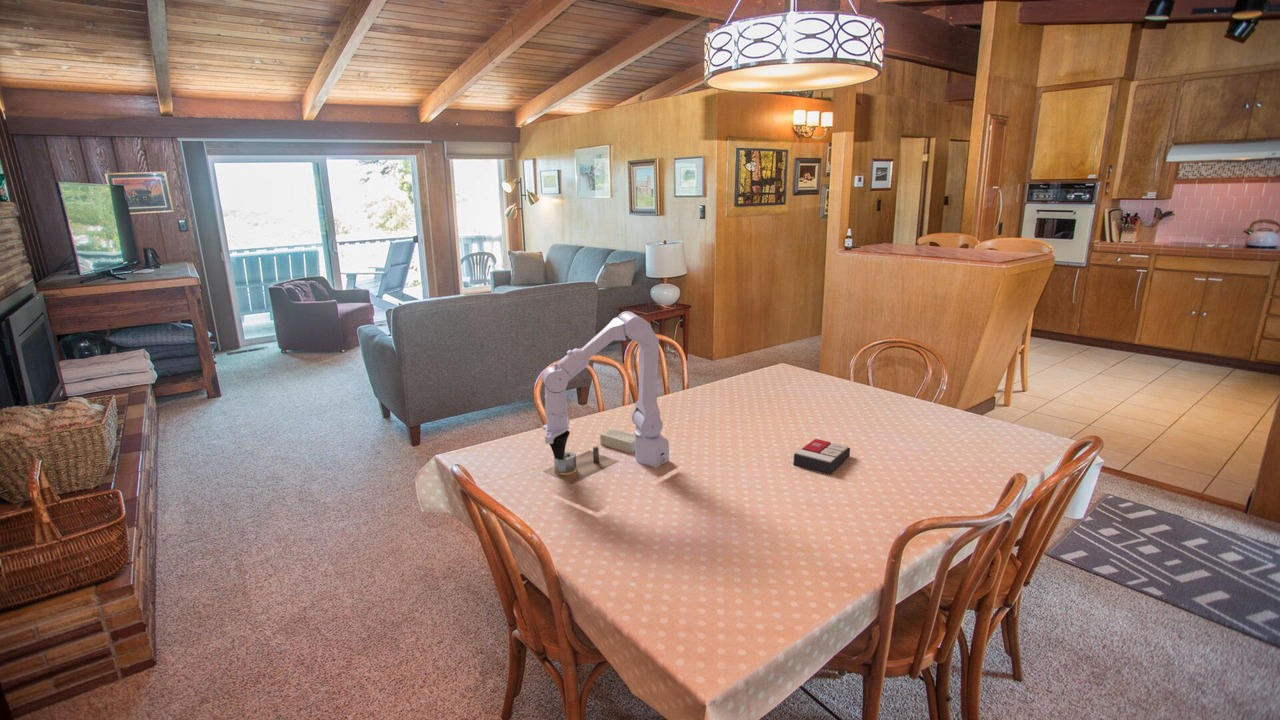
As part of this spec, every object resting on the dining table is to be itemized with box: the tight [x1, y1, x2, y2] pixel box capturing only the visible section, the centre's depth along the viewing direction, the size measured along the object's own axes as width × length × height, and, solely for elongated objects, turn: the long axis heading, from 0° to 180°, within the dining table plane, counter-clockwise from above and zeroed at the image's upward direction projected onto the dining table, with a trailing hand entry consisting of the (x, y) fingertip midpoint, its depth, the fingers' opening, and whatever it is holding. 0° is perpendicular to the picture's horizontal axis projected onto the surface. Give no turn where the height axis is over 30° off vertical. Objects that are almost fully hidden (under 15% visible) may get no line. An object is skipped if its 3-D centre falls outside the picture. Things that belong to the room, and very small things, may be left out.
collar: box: [553, 450, 577, 473], centre depth 173 cm, size 6×6×4 cm
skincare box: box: [599, 428, 635, 454], centre depth 189 cm, size 6×4×12 cm
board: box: [542, 446, 619, 485], centre depth 175 cm, size 12×18×6 cm, turn 139°
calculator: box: [792, 438, 851, 476], centre depth 178 cm, size 11×4×15 cm
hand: (559, 457), depth 171 cm, fingers closed
